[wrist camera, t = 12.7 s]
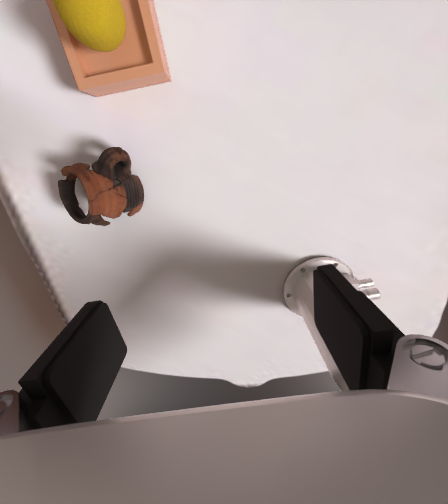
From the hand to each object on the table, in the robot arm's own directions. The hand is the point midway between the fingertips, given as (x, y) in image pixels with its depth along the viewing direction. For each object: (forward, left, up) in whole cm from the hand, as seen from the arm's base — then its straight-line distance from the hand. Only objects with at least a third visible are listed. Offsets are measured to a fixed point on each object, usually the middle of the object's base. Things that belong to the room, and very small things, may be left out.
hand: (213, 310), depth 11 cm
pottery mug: (+15, -4, -28) cm, 32 cm away
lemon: (+8, -20, -25) cm, 33 cm away
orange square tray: (+8, -20, -28) cm, 35 cm away
